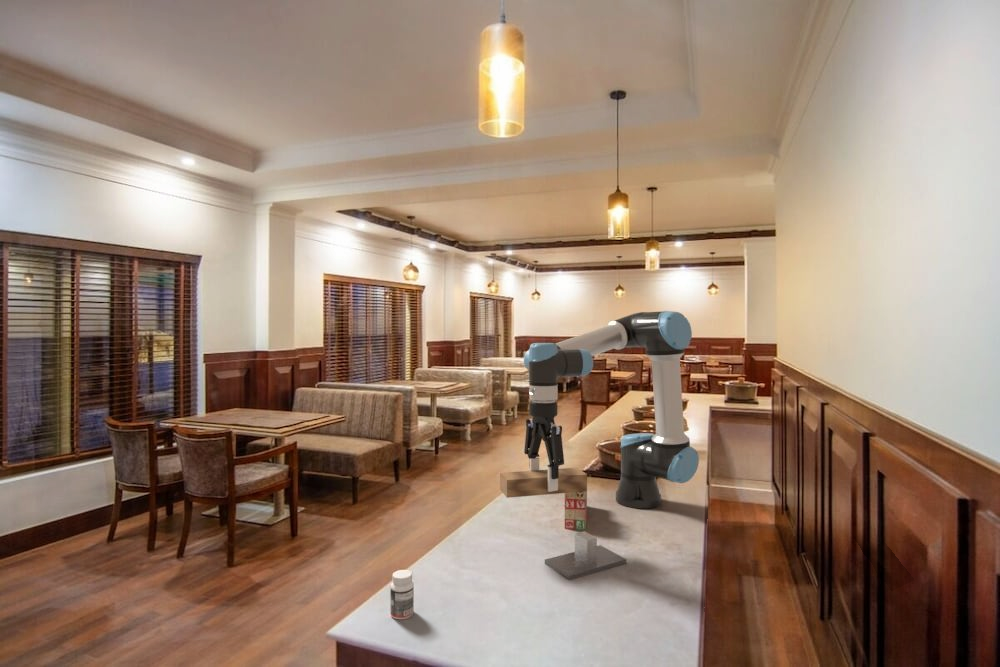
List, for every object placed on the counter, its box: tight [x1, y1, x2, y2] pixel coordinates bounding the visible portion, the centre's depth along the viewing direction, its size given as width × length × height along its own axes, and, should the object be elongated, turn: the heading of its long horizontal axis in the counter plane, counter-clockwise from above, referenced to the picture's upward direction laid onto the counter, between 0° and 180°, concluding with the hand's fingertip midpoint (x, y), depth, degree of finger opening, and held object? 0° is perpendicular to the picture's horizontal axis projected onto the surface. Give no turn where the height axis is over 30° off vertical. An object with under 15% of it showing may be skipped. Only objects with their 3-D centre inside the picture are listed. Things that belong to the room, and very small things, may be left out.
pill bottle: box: [389, 569, 415, 620], centre depth 109 cm, size 5×5×8 cm
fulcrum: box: [544, 530, 627, 581], centre depth 133 cm, size 18×10×7 cm, turn 119°
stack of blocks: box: [564, 490, 588, 531], centre depth 166 cm, size 21×6×12 cm, turn 170°
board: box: [499, 467, 588, 499], centre depth 141 cm, size 22×7×4 cm, turn 104°
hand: (543, 486), depth 141 cm, fingers closed on board, 8 cm apart
